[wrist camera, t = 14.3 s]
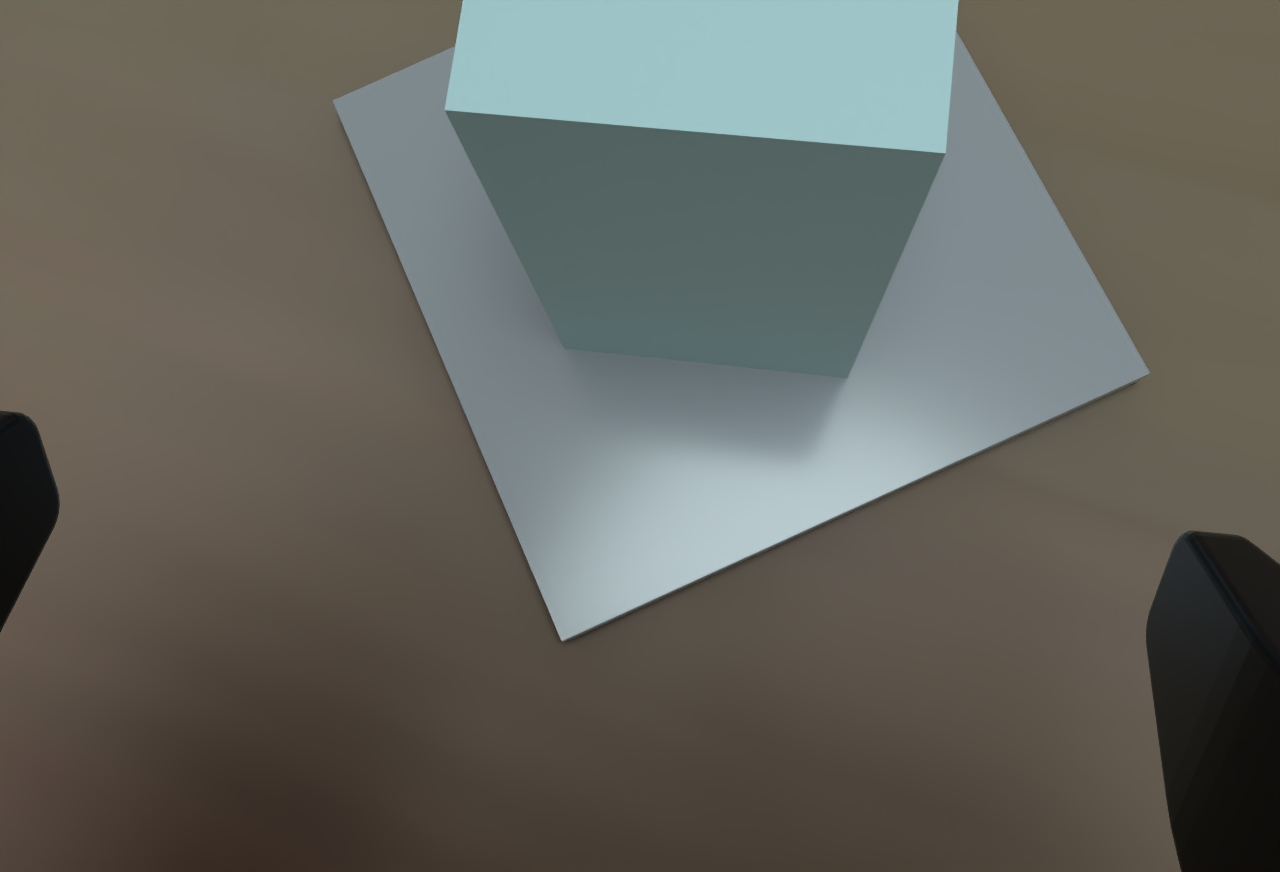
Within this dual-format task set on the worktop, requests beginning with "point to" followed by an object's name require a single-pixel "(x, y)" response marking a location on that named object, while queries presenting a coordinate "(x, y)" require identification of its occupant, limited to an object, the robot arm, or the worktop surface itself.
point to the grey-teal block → (707, 165)
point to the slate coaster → (729, 395)
